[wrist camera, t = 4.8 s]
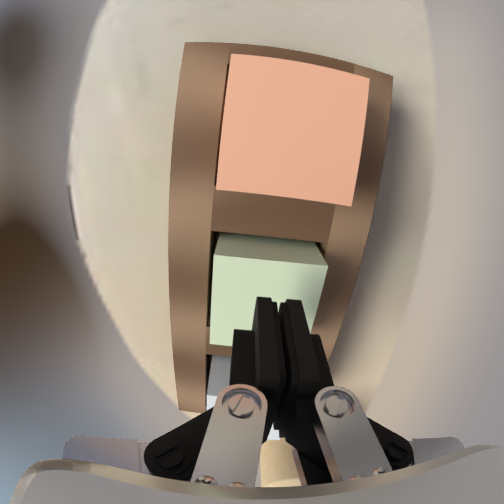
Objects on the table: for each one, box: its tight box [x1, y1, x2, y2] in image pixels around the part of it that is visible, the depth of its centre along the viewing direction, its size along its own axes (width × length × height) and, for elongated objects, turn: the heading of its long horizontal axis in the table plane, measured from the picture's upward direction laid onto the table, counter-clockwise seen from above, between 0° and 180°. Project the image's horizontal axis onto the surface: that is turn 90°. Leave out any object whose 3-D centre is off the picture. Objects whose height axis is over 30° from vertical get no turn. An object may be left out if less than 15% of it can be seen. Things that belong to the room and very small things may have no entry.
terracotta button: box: [216, 54, 370, 206], centre depth 11 cm, size 5×5×4 cm
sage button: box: [210, 232, 328, 346], centre depth 15 cm, size 5×5×4 cm
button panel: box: [168, 42, 393, 413], centre depth 17 cm, size 24×10×4 cm, turn 174°
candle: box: [260, 438, 301, 487], centre depth 21 cm, size 6×6×10 cm
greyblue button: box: [207, 355, 280, 440], centre depth 17 cm, size 5×5×4 cm
